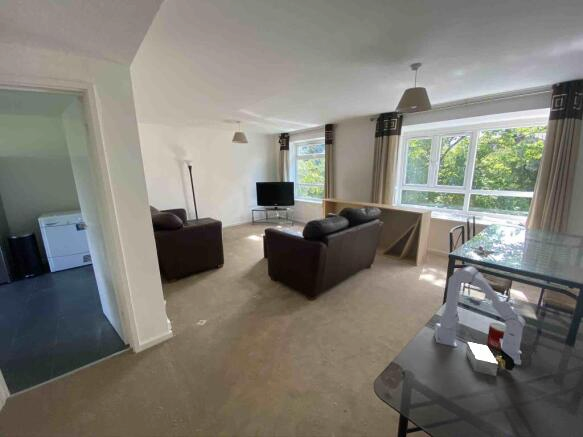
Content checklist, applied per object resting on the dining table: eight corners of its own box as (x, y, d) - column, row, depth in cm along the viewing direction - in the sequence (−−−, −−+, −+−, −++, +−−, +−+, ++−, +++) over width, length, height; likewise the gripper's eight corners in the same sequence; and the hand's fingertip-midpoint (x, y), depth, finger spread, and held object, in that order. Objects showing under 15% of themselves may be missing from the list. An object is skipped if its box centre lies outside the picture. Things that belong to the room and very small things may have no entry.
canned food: (510, 352, 119) (513, 332, 118) (491, 349, 122) (494, 329, 120) (502, 343, 127) (504, 324, 125) (484, 339, 129) (486, 321, 128)
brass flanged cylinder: (485, 368, 109) (487, 357, 108) (481, 359, 114) (482, 349, 113) (513, 374, 106) (515, 364, 105) (507, 365, 111) (509, 355, 110)
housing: (474, 370, 108) (476, 358, 107) (465, 353, 119) (467, 341, 118) (495, 376, 105) (498, 363, 104) (485, 357, 116) (487, 345, 115)
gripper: (532, 354, 98) (526, 381, 100) (514, 332, 111) (509, 357, 114) (511, 349, 101) (505, 376, 103) (496, 329, 114) (491, 354, 116)
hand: (506, 366), depth 109 cm, fingers closed on brass flanged cylinder, 3 cm apart
